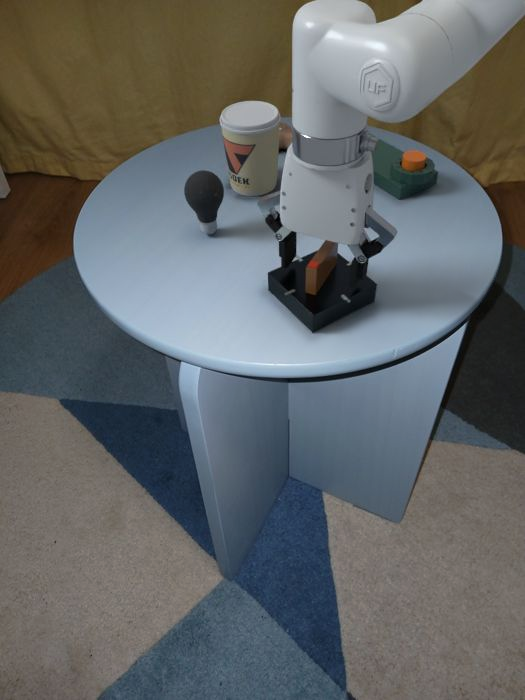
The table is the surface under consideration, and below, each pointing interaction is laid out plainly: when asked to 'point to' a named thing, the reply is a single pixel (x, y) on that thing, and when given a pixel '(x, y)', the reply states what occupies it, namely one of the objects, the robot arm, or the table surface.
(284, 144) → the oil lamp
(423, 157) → the button
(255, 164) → the coffee cup
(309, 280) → the wooden rectangular beam
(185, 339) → the table surface
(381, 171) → the button box
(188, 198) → the light bulb
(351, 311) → the clamp block
